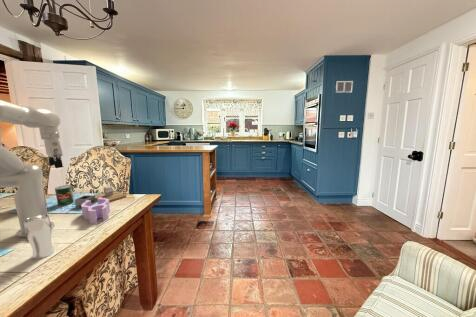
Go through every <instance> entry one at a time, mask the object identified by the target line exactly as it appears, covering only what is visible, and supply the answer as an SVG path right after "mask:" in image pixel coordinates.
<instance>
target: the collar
mask: <svg viewBox="0 0 476 317" xmlns="http://www.w3.org/2000/svg"><path fill="white" fill-rule="evenodd" d="M86 200H90V201H91V205H92V206H94V205H96V203H97V202H96V201H97V200H95V196H93V195H86V194H85V195H83V196H82V195H81V196H80V197H77V198H75V199H74V204H75V208H77V209H78V208H81V205H82V204H83V203H84V202H85V201H86ZM81 209H82V208H81Z"/></svg>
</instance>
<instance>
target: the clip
mask: <svg viewBox="0 0 476 317" xmlns="http://www.w3.org/2000/svg"><path fill="white" fill-rule="evenodd" d="M81 213H82V218H83V219H85V220H88V221H89V223H90V224H98V219H99V218H102V221H103V222H106V221H107V220H109V218H110V217H109V214H110V213H111V206H110V202H109V199H107V198H102V197H100V198H98V201H97V204H93V205H91V201H90V200H86V201H85V202H84V203H83V204H82V205H81Z"/></svg>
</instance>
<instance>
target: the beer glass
mask: <svg viewBox="0 0 476 317" xmlns="http://www.w3.org/2000/svg"><path fill="white" fill-rule="evenodd" d="M50 222H51V220H50V216H49V214H40V215H35V216H32V217H29V218H27V219H25V220H24V228H25V233H26V236H27V237H26V239H27V240H28V242H29V245H30V246H31V249H32V259H34V260H40V259H44V258H46V257H48V256H51V255H52V254H53V253H55V247H54V246H53V244H52V233H53V232H52V228H51V223H50Z"/></svg>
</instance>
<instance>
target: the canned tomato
mask: <svg viewBox="0 0 476 317" xmlns="http://www.w3.org/2000/svg"><path fill="white" fill-rule="evenodd" d="M54 191H55V193H54V194H55V198H56V203H57V207H65V206H69V205H72V204H73V203H74V204H75V199H74V195H73V188H72V185H70V184H65V185H58V186H57V187H54Z"/></svg>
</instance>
